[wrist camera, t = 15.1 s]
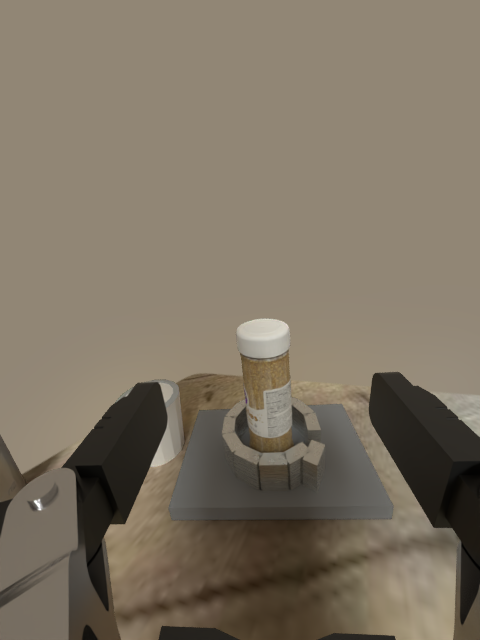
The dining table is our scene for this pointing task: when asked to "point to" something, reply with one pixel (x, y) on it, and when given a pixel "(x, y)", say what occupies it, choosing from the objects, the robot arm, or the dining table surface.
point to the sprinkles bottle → (267, 383)
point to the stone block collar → (279, 466)
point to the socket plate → (299, 503)
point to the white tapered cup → (168, 423)
